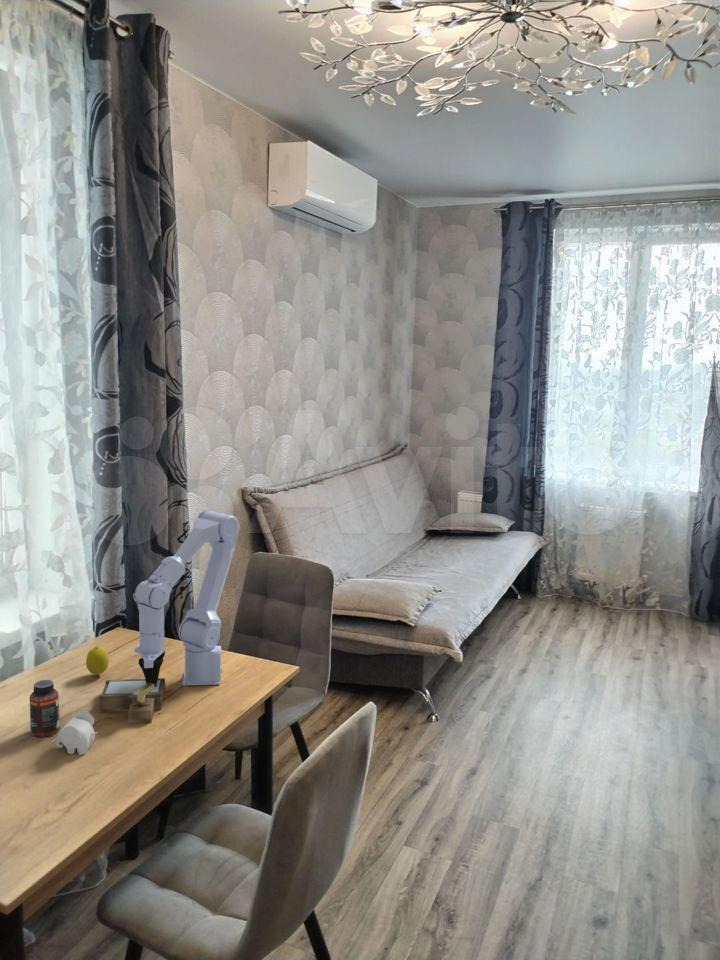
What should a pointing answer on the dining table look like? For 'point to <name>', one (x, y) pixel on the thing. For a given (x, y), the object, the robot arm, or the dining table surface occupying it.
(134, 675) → the dining table surface
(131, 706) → the case
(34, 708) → the supplement bottle
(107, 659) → the lemon
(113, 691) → the lid
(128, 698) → the lever
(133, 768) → the dining table surface
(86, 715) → the elephant figurine
